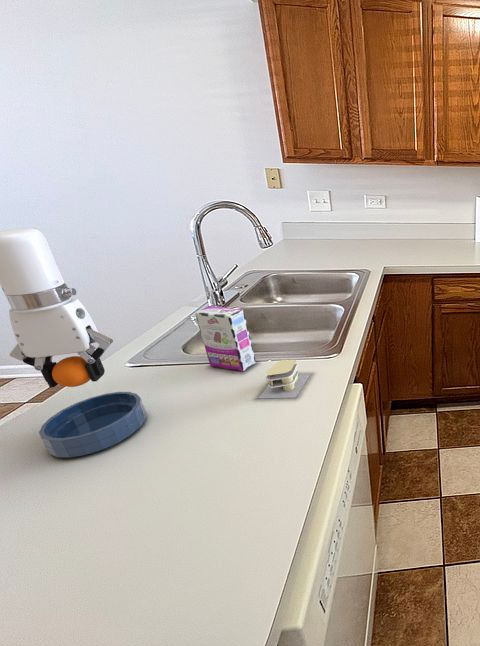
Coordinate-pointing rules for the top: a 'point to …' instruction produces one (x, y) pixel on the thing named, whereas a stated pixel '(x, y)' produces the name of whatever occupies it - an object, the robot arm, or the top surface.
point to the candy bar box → (226, 338)
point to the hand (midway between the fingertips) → (78, 379)
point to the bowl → (93, 424)
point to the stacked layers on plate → (284, 380)
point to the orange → (71, 372)
